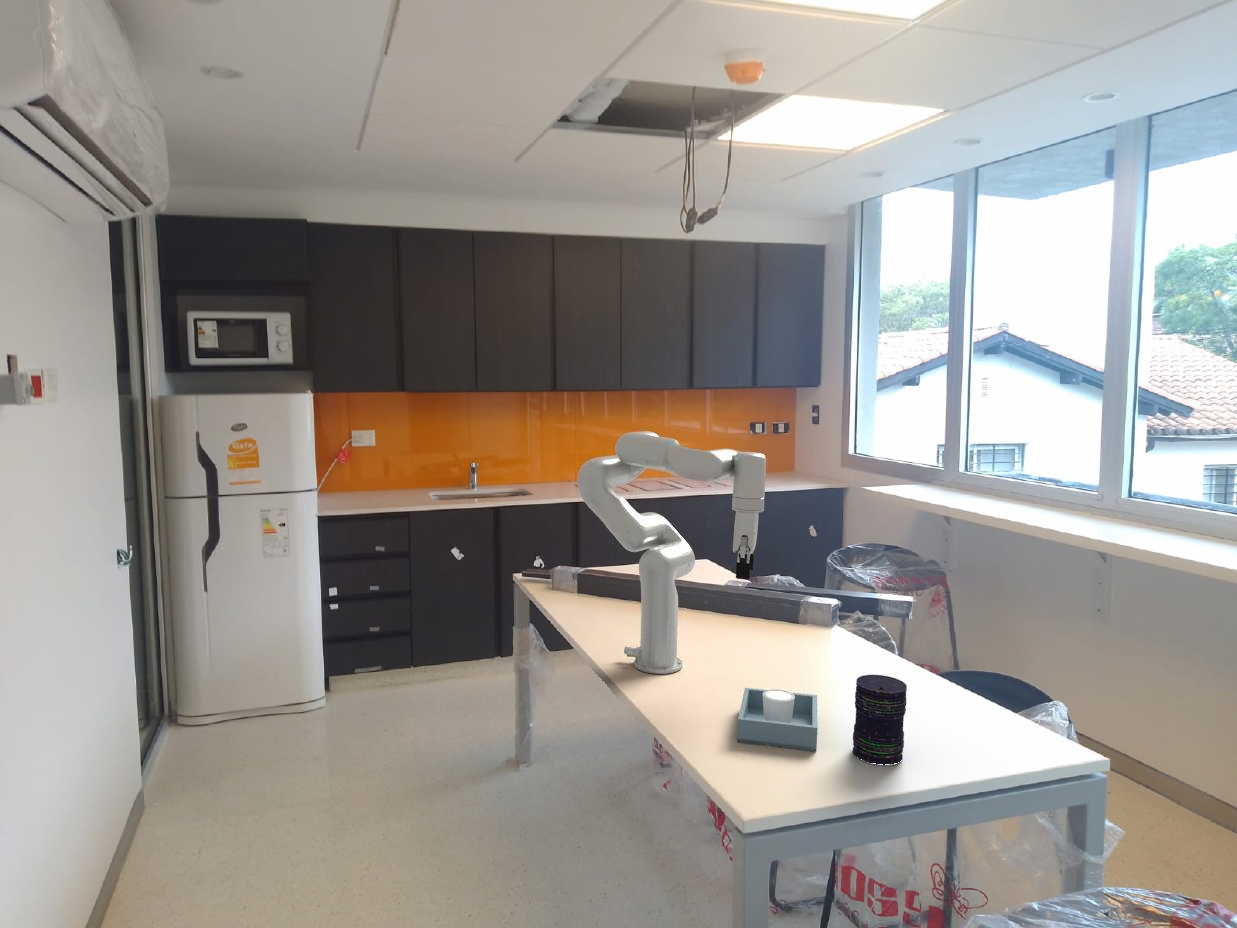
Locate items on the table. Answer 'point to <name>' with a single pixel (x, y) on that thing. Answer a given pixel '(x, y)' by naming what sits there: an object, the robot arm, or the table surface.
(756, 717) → the open box
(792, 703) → the white cup
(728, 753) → the table surface
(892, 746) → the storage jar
